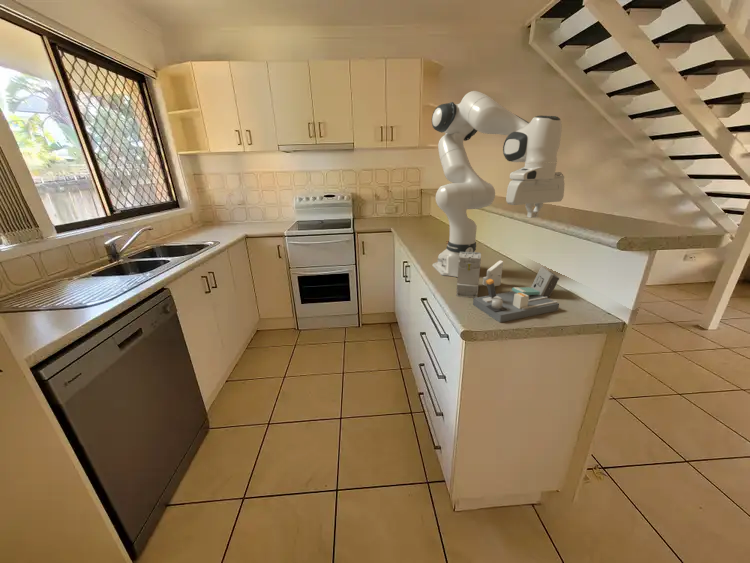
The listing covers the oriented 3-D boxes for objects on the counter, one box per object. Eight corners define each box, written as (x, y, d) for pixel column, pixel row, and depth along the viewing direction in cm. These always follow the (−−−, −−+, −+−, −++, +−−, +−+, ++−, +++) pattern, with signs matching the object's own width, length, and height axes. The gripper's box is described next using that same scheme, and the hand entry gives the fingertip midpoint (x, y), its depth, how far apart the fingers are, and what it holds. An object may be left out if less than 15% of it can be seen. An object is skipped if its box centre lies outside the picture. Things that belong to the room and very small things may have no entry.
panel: (472, 304, 108) (473, 296, 107) (526, 295, 114) (527, 286, 113) (499, 322, 95) (500, 313, 94) (557, 310, 102) (559, 301, 101)
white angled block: (509, 277, 125) (503, 261, 121) (490, 292, 124) (483, 276, 120) (503, 275, 128) (496, 259, 124) (484, 289, 127) (477, 273, 123)
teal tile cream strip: (521, 295, 105) (522, 291, 105) (511, 290, 109) (512, 287, 109) (539, 294, 108) (540, 291, 107) (529, 289, 112) (530, 287, 111)
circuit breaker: (476, 284, 126) (480, 248, 121) (477, 297, 113) (481, 258, 108) (457, 282, 128) (460, 247, 123) (456, 296, 115) (458, 257, 110)
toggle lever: (488, 296, 106) (485, 280, 103) (493, 294, 106) (490, 278, 103) (492, 298, 104) (489, 282, 101) (496, 296, 104) (493, 280, 102)
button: (489, 306, 100) (490, 299, 99) (497, 304, 101) (498, 297, 100) (495, 310, 97) (496, 303, 96) (504, 308, 98) (505, 301, 97)
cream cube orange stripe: (512, 305, 101) (514, 293, 99) (520, 303, 102) (522, 291, 100) (519, 308, 98) (521, 296, 97) (527, 307, 99) (529, 295, 98)
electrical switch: (530, 288, 120) (536, 265, 117) (544, 289, 120) (550, 267, 117) (539, 298, 112) (546, 274, 108) (554, 299, 111) (561, 275, 108)
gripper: (556, 171, 103) (549, 213, 107) (505, 173, 97) (500, 218, 102) (573, 171, 97) (565, 216, 102) (520, 174, 91) (514, 221, 96)
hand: (532, 217), depth 102 cm, fingers closed
